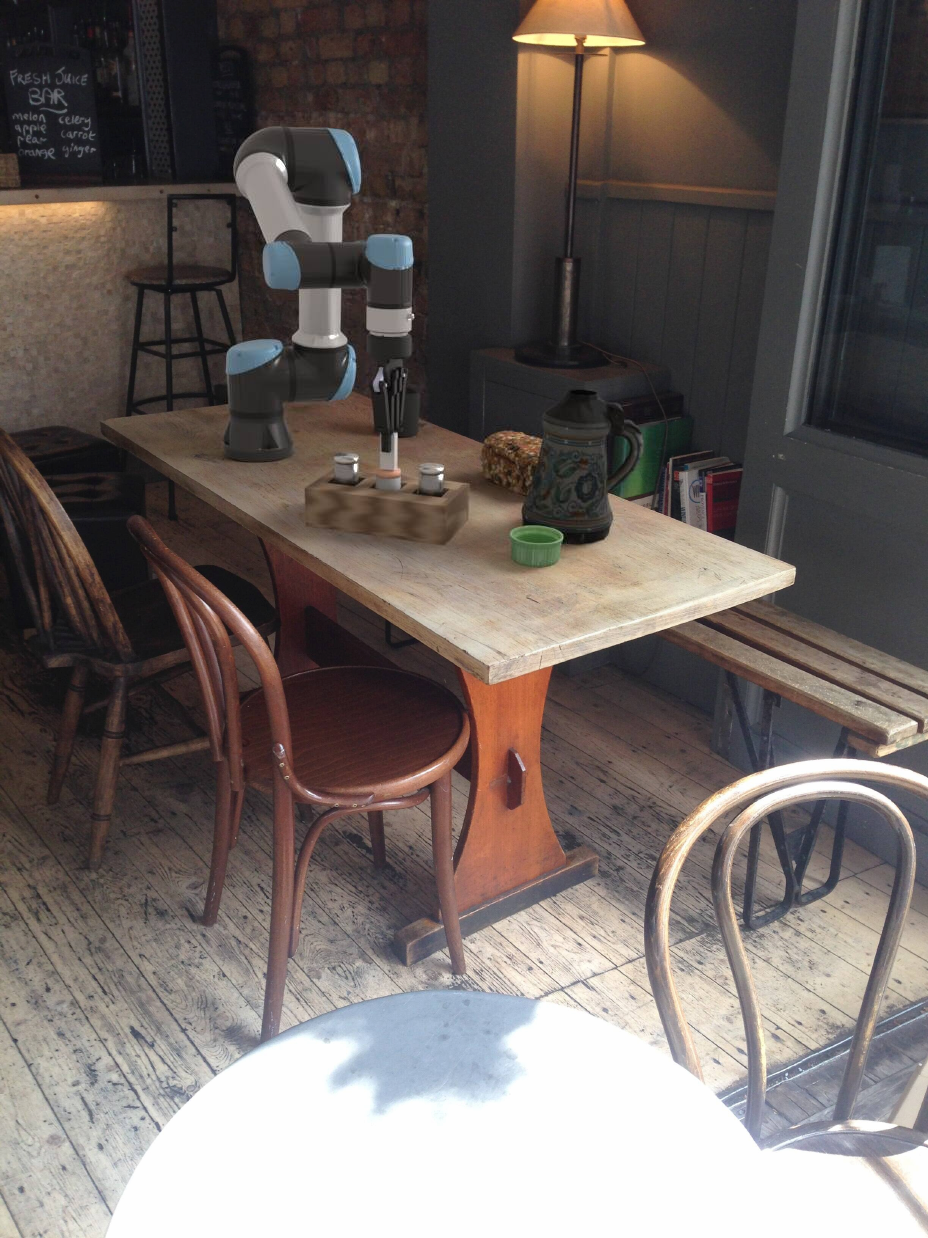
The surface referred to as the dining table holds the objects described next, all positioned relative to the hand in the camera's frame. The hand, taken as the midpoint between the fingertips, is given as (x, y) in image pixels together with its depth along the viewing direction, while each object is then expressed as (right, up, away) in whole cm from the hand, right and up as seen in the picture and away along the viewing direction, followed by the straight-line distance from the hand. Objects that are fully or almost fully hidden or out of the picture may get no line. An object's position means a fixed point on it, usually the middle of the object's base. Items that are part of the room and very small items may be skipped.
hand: (388, 468), depth 193 cm
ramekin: (+25, -17, -9) cm, 32 cm away
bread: (+26, 0, +28) cm, 38 cm away
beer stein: (+33, -10, +5) cm, 35 cm away
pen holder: (-2, +17, +62) cm, 64 cm away
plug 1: (-8, -3, +4) cm, 10 cm away
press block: (0, -9, +4) cm, 10 cm away
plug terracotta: (0, -6, +3) cm, 7 cm away
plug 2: (+7, -6, 0) cm, 9 cm away
